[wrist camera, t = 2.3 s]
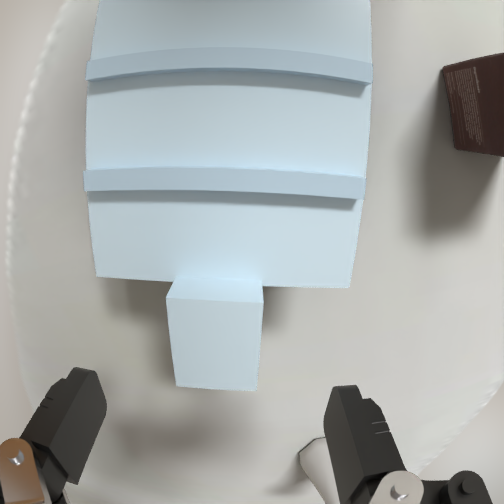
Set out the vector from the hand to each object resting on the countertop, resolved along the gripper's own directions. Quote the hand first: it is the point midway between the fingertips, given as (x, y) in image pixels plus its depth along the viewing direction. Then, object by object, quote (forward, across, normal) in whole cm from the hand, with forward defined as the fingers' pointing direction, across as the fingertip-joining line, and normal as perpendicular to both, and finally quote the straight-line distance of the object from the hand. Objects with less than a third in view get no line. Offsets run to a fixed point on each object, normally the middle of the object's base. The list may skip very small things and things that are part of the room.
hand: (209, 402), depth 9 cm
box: (+11, -17, -13) cm, 24 cm away
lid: (+6, 0, -7) cm, 9 cm away
